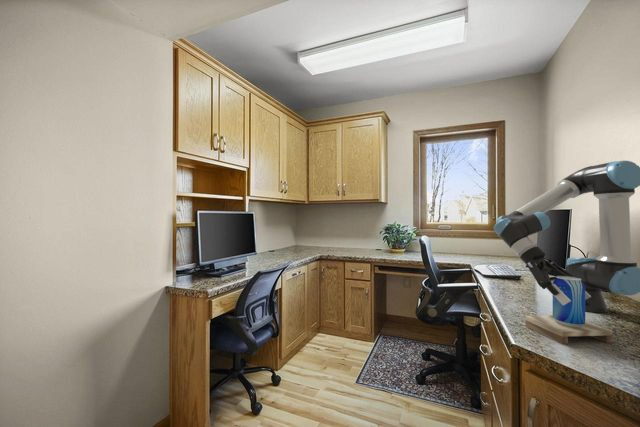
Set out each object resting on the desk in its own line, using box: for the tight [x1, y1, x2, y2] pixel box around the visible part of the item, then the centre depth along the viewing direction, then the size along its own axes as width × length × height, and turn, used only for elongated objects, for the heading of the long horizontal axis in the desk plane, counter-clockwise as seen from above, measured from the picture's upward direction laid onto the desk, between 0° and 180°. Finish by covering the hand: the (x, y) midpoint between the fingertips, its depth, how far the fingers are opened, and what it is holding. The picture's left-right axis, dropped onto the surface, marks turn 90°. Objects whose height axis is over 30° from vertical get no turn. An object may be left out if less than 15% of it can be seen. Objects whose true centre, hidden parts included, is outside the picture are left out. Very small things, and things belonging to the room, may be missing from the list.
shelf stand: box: [525, 315, 613, 345], centre depth 95 cm, size 18×14×4 cm
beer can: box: [552, 276, 586, 328], centre depth 94 cm, size 8×8×16 cm
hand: (577, 301), depth 92 cm, fingers open, 13 cm apart
